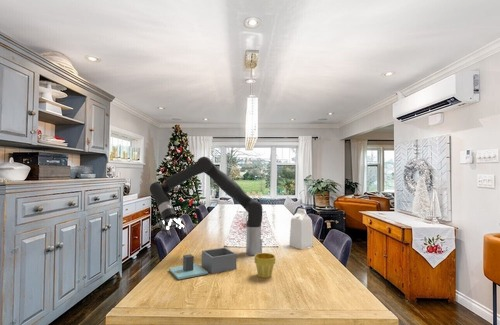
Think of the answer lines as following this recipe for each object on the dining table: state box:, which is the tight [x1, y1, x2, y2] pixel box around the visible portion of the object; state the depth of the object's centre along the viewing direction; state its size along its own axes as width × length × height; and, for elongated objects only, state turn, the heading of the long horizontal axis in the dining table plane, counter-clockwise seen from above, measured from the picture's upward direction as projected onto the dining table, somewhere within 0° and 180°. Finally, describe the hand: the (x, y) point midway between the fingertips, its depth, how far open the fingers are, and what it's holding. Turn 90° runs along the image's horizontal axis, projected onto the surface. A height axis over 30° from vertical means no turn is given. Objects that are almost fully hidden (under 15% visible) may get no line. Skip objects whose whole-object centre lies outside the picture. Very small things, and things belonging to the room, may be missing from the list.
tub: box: [201, 247, 238, 275], centre depth 148 cm, size 14×14×8 cm
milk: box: [289, 208, 314, 250], centre depth 194 cm, size 12×12×26 cm
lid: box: [168, 253, 209, 280], centre depth 139 cm, size 15×15×9 cm
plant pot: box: [254, 252, 276, 279], centre depth 137 cm, size 10×10×10 cm
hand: (177, 235), depth 147 cm, fingers open, 8 cm apart
